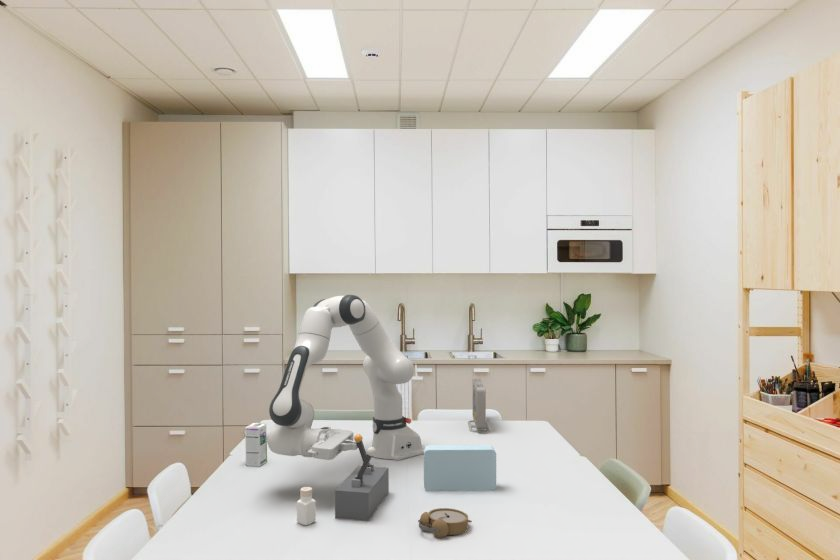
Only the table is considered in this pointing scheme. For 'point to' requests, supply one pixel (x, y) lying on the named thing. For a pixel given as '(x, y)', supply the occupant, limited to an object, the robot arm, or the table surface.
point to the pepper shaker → (306, 507)
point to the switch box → (362, 493)
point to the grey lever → (366, 462)
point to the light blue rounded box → (459, 468)
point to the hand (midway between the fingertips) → (357, 446)
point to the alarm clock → (444, 522)
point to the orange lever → (361, 447)
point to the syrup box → (256, 444)
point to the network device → (479, 407)
